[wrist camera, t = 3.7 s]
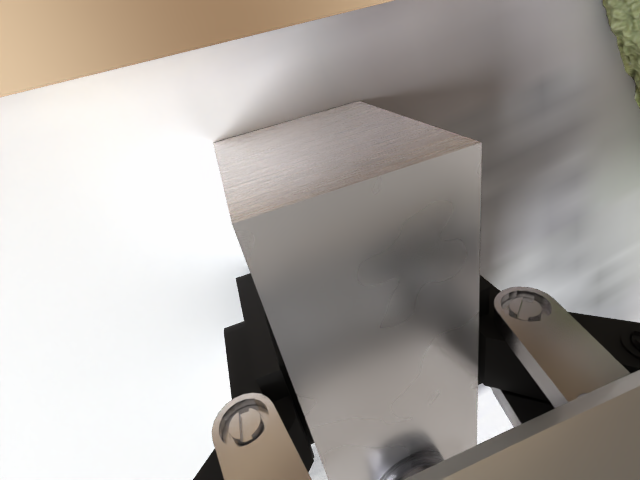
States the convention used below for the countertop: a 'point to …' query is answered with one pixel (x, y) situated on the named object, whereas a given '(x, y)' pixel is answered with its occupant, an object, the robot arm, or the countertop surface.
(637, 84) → the washcloth
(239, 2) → the rail
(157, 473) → the countertop surface
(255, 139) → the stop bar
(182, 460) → the countertop surface
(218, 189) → the countertop surface
